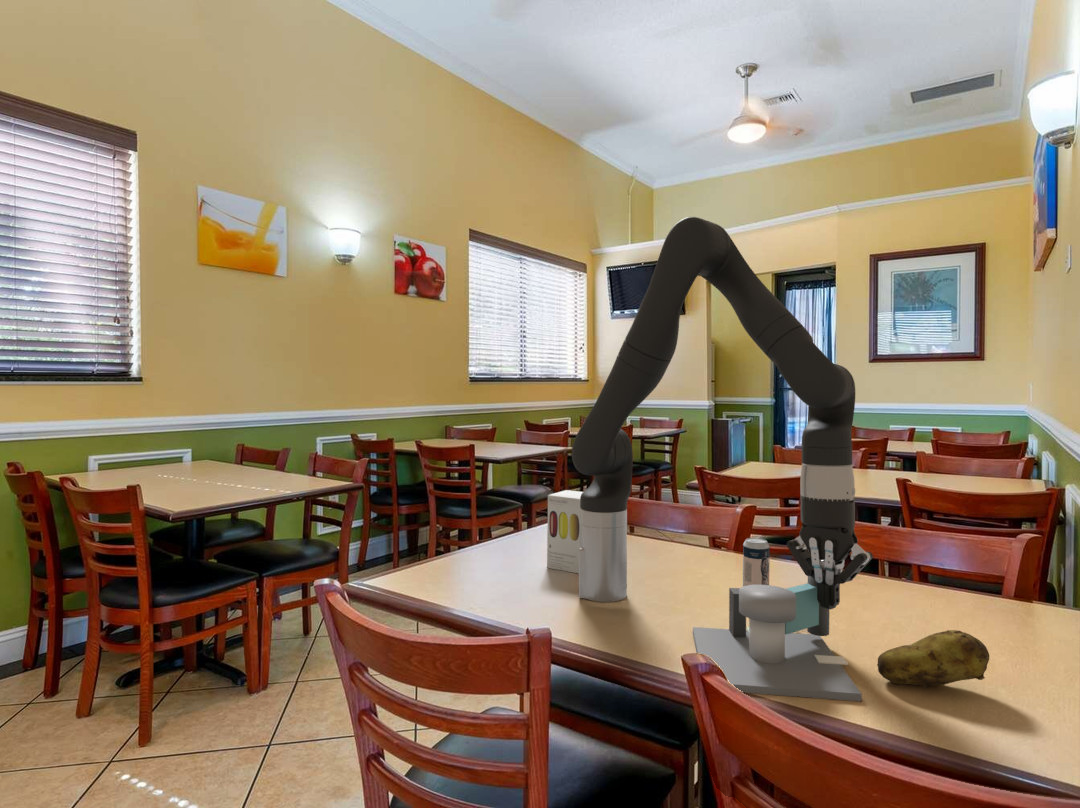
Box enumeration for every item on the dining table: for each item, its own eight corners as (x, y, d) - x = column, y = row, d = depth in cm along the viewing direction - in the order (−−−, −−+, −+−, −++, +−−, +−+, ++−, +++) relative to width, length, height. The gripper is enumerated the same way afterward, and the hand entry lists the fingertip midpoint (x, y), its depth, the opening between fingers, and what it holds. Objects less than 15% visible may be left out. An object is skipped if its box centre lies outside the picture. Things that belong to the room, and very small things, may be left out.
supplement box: (545, 568, 143) (545, 494, 142) (565, 558, 151) (565, 489, 150) (582, 574, 138) (582, 498, 137) (601, 564, 146) (601, 492, 145)
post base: (703, 689, 85) (704, 631, 85) (692, 630, 106) (692, 583, 105) (869, 702, 82) (870, 641, 81) (824, 638, 102) (824, 590, 102)
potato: (880, 664, 93) (881, 611, 93) (987, 686, 86) (988, 629, 86) (875, 687, 86) (876, 629, 86) (991, 713, 79) (992, 650, 79)
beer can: (770, 608, 116) (771, 544, 116) (744, 606, 117) (744, 542, 117) (766, 599, 121) (767, 538, 121) (741, 598, 122) (741, 537, 122)
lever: (770, 664, 88) (771, 600, 87) (727, 644, 95) (727, 585, 94) (847, 638, 97) (848, 580, 96) (802, 622, 103) (803, 568, 103)
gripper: (773, 491, 98) (775, 601, 98) (858, 501, 88) (859, 624, 88) (800, 487, 103) (802, 592, 103) (883, 496, 92) (885, 613, 92)
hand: (828, 607), depth 95 cm, fingers closed
